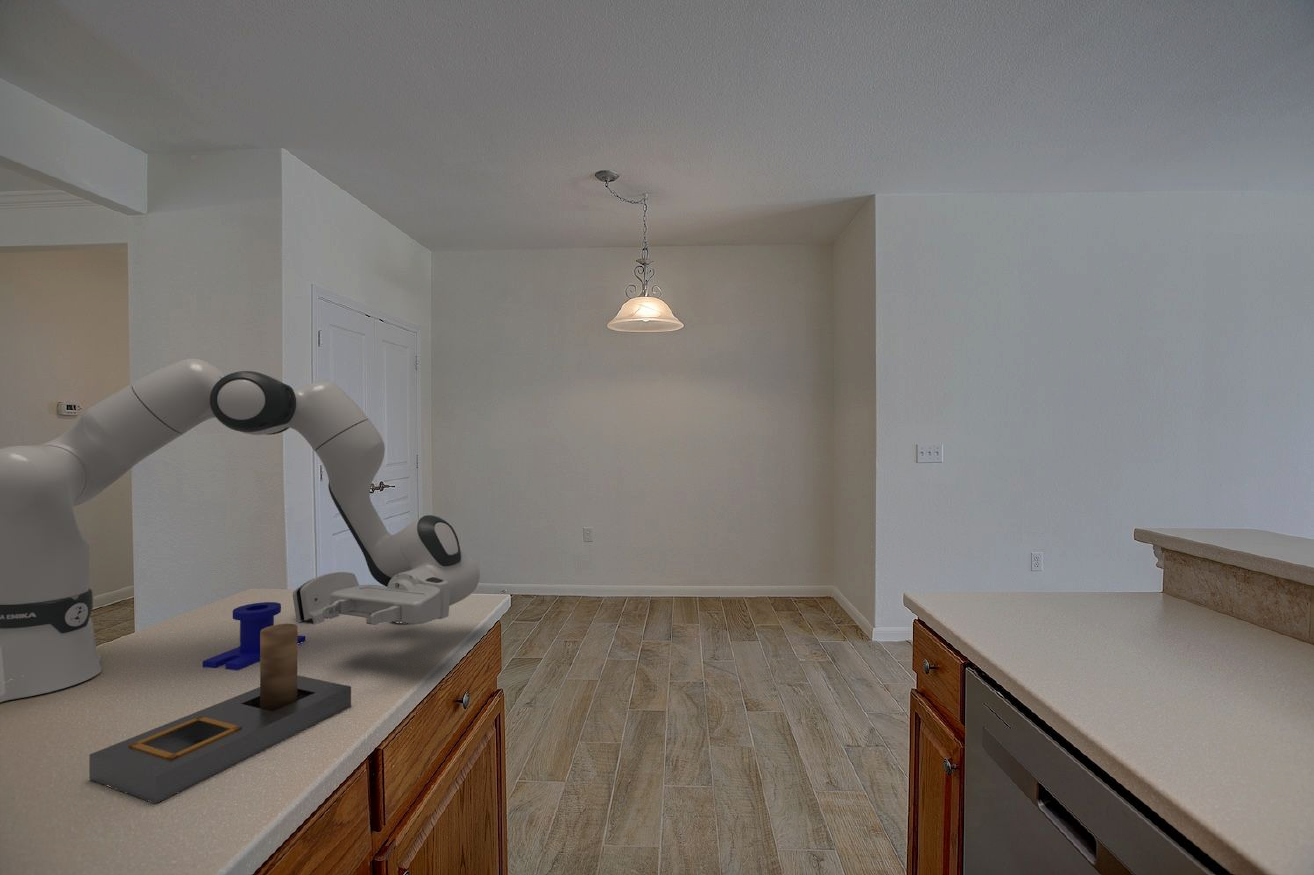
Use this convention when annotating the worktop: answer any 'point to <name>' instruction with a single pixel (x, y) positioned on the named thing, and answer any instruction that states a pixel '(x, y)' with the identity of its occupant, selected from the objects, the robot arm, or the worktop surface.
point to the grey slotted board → (211, 740)
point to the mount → (248, 636)
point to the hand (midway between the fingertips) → (347, 616)
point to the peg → (278, 666)
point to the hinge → (320, 594)
